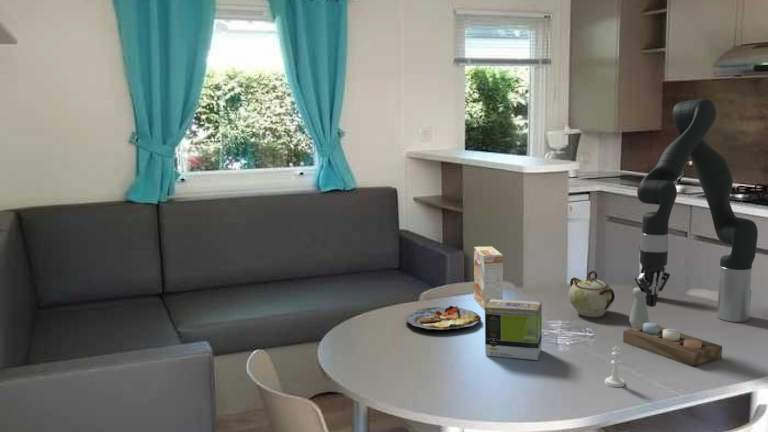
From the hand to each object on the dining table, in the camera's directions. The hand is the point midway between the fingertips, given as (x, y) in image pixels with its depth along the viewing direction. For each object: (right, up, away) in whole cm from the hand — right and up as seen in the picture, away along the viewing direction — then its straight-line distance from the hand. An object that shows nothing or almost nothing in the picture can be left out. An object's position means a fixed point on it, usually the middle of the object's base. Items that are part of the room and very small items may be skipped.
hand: (650, 305), depth 206 cm
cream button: (+4, -10, -5) cm, 11 cm away
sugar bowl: (-9, -7, +31) cm, 33 cm away
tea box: (-41, -13, -4) cm, 43 cm away
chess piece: (-20, -17, -27) cm, 37 cm away
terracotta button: (+8, -12, -10) cm, 17 cm away
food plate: (-59, -9, +25) cm, 65 cm away
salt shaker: (+2, -9, +15) cm, 18 cm away
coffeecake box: (-41, -5, +45) cm, 62 cm away
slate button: (0, -9, +1) cm, 9 cm away
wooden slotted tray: (+4, -12, -4) cm, 13 cm away
